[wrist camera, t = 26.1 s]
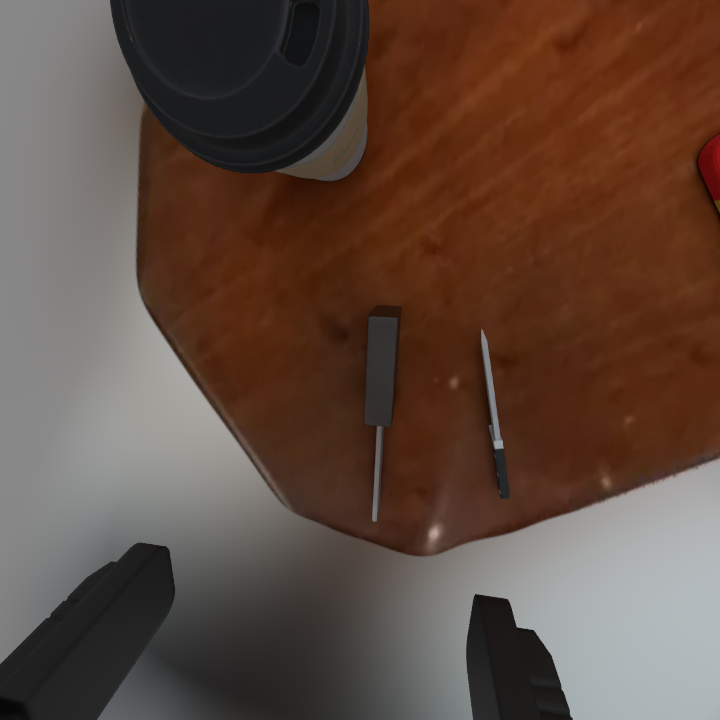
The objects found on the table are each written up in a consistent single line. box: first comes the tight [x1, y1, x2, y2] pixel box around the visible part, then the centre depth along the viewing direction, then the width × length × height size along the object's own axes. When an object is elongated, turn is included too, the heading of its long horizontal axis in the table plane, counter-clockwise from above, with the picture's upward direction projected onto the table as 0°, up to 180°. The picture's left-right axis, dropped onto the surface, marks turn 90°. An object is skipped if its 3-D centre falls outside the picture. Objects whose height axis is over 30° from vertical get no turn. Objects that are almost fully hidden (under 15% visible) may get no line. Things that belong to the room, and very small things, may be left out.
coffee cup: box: [110, 0, 369, 181], centre depth 19 cm, size 9×9×15 cm
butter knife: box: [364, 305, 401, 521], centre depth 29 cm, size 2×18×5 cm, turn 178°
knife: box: [481, 330, 510, 499], centre depth 29 cm, size 15×1×2 cm, turn 13°
